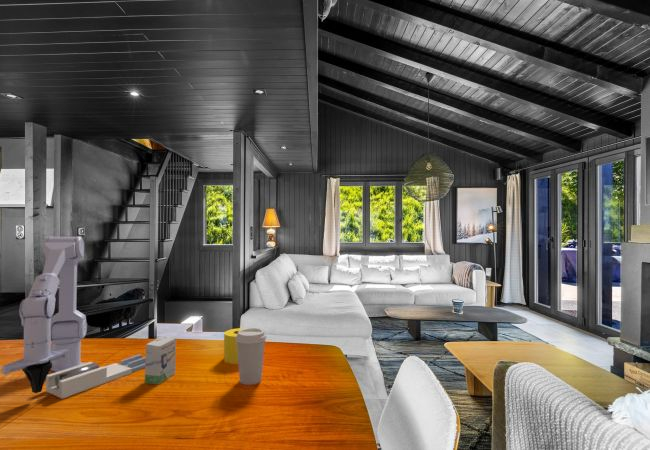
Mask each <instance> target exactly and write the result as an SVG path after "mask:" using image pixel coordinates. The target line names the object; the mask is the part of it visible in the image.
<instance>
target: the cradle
mask: <svg viewBox="0 0 650 450" xmlns="http://www.w3.org/2000/svg"><path fill="white" fill-rule="evenodd" d="M145 360H146V356H144V357H143V354H141V353H140V354H139V353H138V354H137V355H133V356H130V357H128V358H125V359H121V360H120V363H119V364H120V365H123V366H126V367H129V368H132V373H134V372H137V371H139V370H142V369H144V368H145Z"/></svg>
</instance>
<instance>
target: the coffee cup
mask: <svg viewBox="0 0 650 450" xmlns="http://www.w3.org/2000/svg"><path fill="white" fill-rule="evenodd" d="M266 340H267V334H266V333H265V331H264V329H262V328H255V327H251V328H245V329H243V330H240V331H238V334H237V335H236V338H235V341H237V351H238V364H237V365H238V375H239V376H238V377H239V383H240V384H242V385H246V386H251V385H257V384H259V383H260V382H261V381H262V376H263V375H262V374H263V365H264V352H265V343H266Z"/></svg>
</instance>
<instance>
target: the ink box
mask: <svg viewBox="0 0 650 450" xmlns="http://www.w3.org/2000/svg"><path fill="white" fill-rule="evenodd" d="M176 349H177V338H176V337H169V336H161V337H158V338H157V339H154V340H152V341H150V342H148V343H146V345H145V357H146V360H145V369H144V384H153V385H157V386H158V385H160V384H161V383H163V382H164V381H166V380H168V379H169V378H170V377H172V376H173V375H175V374H176V359H177V351H176Z"/></svg>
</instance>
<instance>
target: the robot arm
mask: <svg viewBox="0 0 650 450" xmlns="http://www.w3.org/2000/svg"><path fill="white" fill-rule="evenodd" d="M42 251H43V252H42V253H44V257H45V262H44V266H43V269H42V273H41V274H39V275H37V276H36V277H35V280H34V282H33V284H32V286H31V288H30V292H29V293H28V296H27V297H26V298H24V299H22V301H21V302H20V304H19V310H18V313H19V318H20V320H21V321H20V323H21V326H22V327H23V358H20V359H18V360H16V361H12V362H10V363H8V364H3V365H1V374H3V375H9V374H11V373H13V372H17V371H20V370H22V372H23V373H24V374H25V376H26V377H27V380H28V382H29V384H30V388H31V391H32V393H34V394H38V393H41V392H42V391H43V388H44V384H45V382H46V376H47V375H49V374H50V371H53V372H54V373H55V372H59V371H62V370H65V369H68V368H72V367H75V366H78V365H81V364H85V363H86V362H81V360H82V359H81V356H82V355H81V348H82V346H81V345H82V339H84V338H85V337H86V334H87V330H88V323H87V316H86V314H84V313H83V312H81V311H79V310H77V294H78V293H77V292H78V291H77V290H78V288H77V287H78V284H77V283H78V265H79V264H78V263H79V262H80V261H83V260H84V258H85V242H84V239H83V237H82V236H81V235H78V236H51V235H48V236H46V237H45V238H44V240H43V242H42ZM58 288H59V289H58ZM57 291H58V312H57V313H56V314H55V315H54V312H55V308H56V300H57V299H56V293H57Z"/></svg>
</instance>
